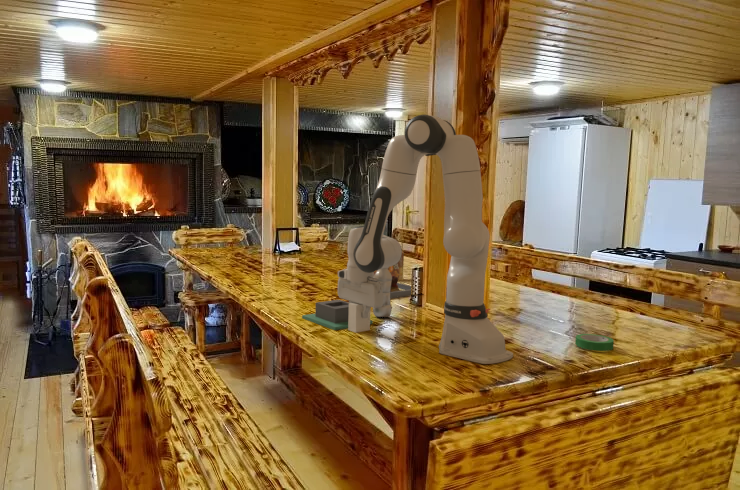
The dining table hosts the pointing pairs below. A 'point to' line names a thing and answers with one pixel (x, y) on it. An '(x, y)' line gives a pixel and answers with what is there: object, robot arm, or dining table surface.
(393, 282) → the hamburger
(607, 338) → the tape roll
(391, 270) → the candy box
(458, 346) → the robot arm
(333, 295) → the dining table surface
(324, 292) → the dining table surface
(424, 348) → the dining table surface
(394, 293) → the burger tray
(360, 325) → the plug
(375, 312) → the plastic bottle
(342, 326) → the header board
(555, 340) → the dining table surface
